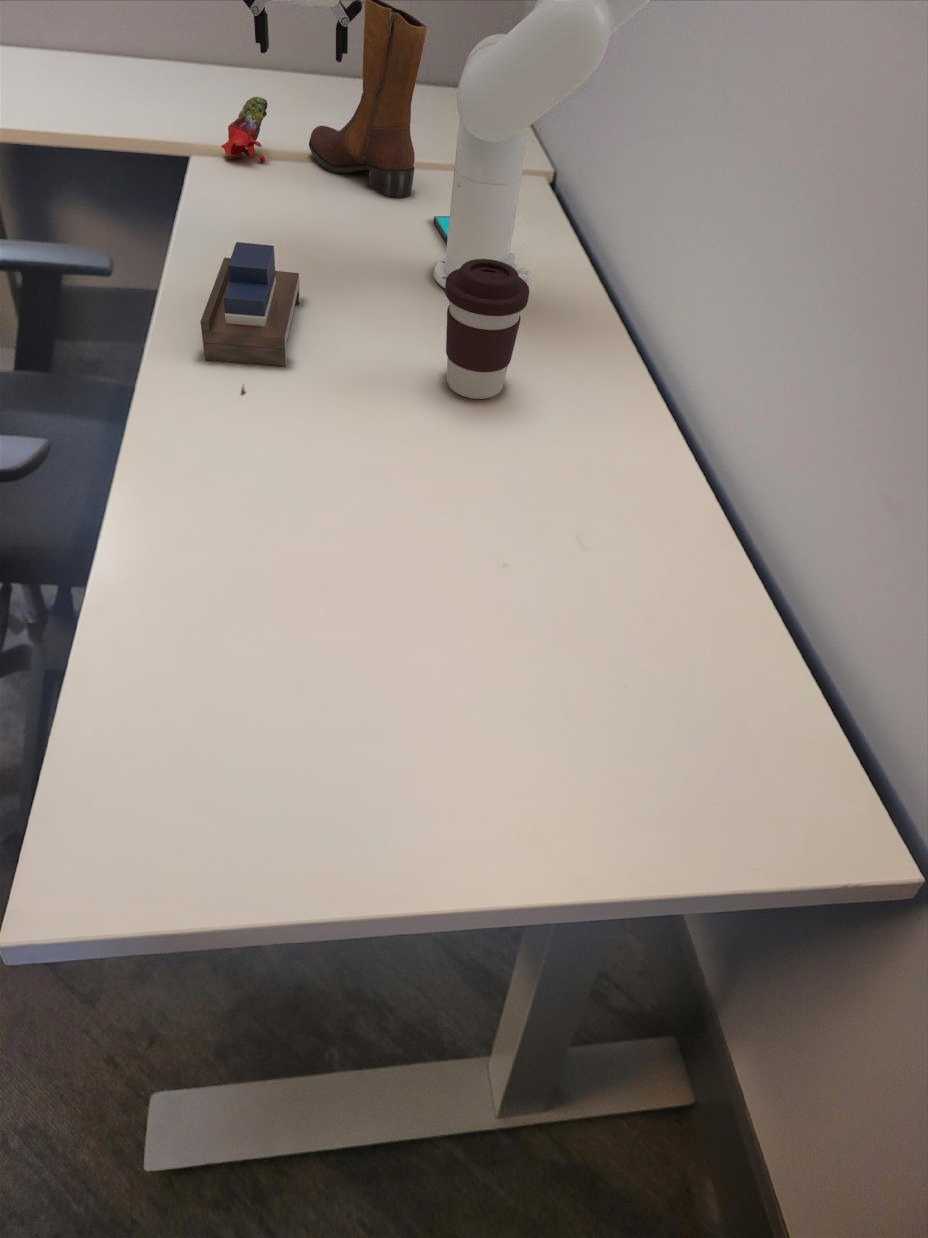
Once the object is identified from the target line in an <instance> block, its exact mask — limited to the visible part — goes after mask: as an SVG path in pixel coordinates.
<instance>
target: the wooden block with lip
mask: <svg viewBox="0 0 928 1238" xmlns="http://www.w3.org/2000/svg"><path fill="white" fill-rule="evenodd" d="M230 259H231V257H225V256H224V258H223V259H222V262H221V265H220V267H219V270H218V273H217V275H216V279H215V281H214V283H213V286H212V288H211V291H210V294H209V297H208V300H207V303H206V305H205V308H204V311H203V313H202V316H201V319H200V330H201V338H202V346H203V355H204V361H210V362H211V361H212V362H223V363H224V362H225V363H238V364H251V365H261V366H273V367H287V363H288V355H287V343H288V338H289V333H290V329H291V324H292V320H293V315H294V310H295V306H296V305H300V302H301V295H300V293H301V291H300V273H299V272H293V271H283V270H275V275H276V285H275V289H274V293H273V297H272V301H271V305H270V309H269V312H268V316H267V320H266V324H265V327H262V326H250V325H238V324H226V322H225V307H224V295H225V293H226V290H227V287H228V284H229V272H228V264H229V261H230Z"/></svg>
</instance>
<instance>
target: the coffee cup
mask: <svg viewBox="0 0 928 1238" xmlns="http://www.w3.org/2000/svg"><path fill="white" fill-rule="evenodd" d="M444 294H445V297H446V298H447V300H448V302H449V303H448V306H447V309H446V334H445V335H446V336H445V337H446V338H445V339H446V340H445V354H446V356H447V362H446V382H447V385H448V387H449V388H450V389H451V391H453V393H455V394H457V395H459V396H461V397H464V398H467V399H472V400H473V399H475V400H485V399H490V398H493V397H495V396H497V395H498V394H500V393H501V392H502V390H503V388H504V384H505V379H506V375H507V371H508V366H509V365H510V363H511V361H512V358H513V353H514V348H515V344H516V341H517V336H518V333H519V327H520V324H521V311H524V309H525V308H527V305H528V303H529V297H530V286H529V287H528V285H527V283H526V282H525V281H524V280H523V279H521V278H520V277H519V275H518V273H517V271H516V270H515V269H514V268H513V267H511V266H510V265H508V264H506V263H503V262H500V261H496V260H491V259H476V260H470V261H468V262H466V263H464V264H463V265H462V266H461V268H460V269H456V270H454V271H452V272H451V273H450V274H449V275H448V276H447V278H446V284H445V288H444Z"/></svg>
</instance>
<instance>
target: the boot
mask: <svg viewBox="0 0 928 1238" xmlns="http://www.w3.org/2000/svg"><path fill="white" fill-rule="evenodd" d="M427 29H428V27H427V26H426V25H425V24H424V23H423V22H421V21H420V20H418V19H417V18H416V17H415V16H414V15H411V14H410V13H409V12H407V11H405V10H403V9H399V8H397V7H394V6H393V5H391V4H389V3H387V2H385V1H383V0H366V1H365V3H364V22H363V51H362V52H363V53H362V93H361V96H360V101H359V103H358V106H357V107H356V110H355V111H354V113H353V116H352V117H351V118H350V120H349V121H347V123H346V124H345V125H344V126H343V127H342V128H341V129H340V130H338V129H335V128H333V127H330V126H327V125H318V126H316V127H314V128H313V130H312V131H311V133H310V138H309V141H308V147H309V150H310V153H311V154H312V156H313V158H314V159H315V160H316V161H317V162H318V163H319V164H320V165H321V166H322V167H323V168H325V169H326V170H328V171H330V172H333V173H337V174H346V173H348V174H349V173H357V172H358V173H359V172H365V171H369V187H370V188H372V189H373V190H374V191H376V192H377V193H379V194H381V195H383V196H385V197H389V198H394V199H404V198H407V197H409V196H410V195H411V194H412V189H413V183H414V177H415V176H414V175H415V166H414V165H415V148H414V145H413V141H412V134H411V121H412V120H411V119H412V102H413V95H414V91H415V88H416V87H415V86H416V81H417V78H418V74H419V73H418V72H419V69H420V64H421V60H422V54H423V49H424V46H425V41H426V35H427Z"/></svg>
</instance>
